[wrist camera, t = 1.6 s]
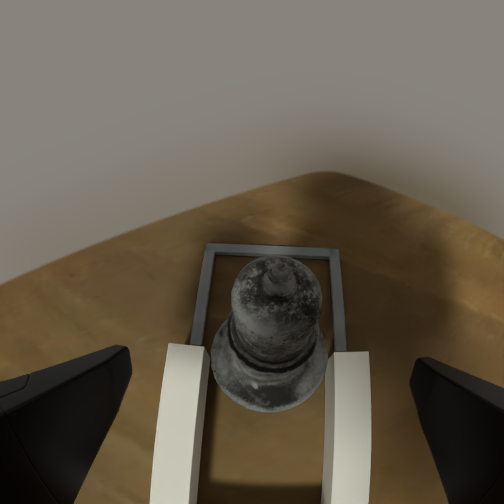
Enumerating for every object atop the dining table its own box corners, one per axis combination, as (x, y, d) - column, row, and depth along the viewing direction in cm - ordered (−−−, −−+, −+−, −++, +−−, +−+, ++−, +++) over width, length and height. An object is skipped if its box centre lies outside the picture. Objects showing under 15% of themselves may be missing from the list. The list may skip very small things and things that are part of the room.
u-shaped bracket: (351, 531, 12) (364, 541, 10) (161, 522, 12) (148, 533, 10) (355, 362, 18) (368, 351, 16) (178, 355, 18) (168, 342, 16)
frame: (344, 352, 18) (346, 350, 18) (191, 345, 19) (189, 344, 18) (337, 251, 23) (338, 248, 22) (206, 246, 23) (206, 243, 23)
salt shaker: (272, 308, 20) (286, 160, 10) (335, 373, 18) (427, 275, 8) (199, 362, 18) (129, 253, 8) (261, 436, 16) (267, 434, 6)
